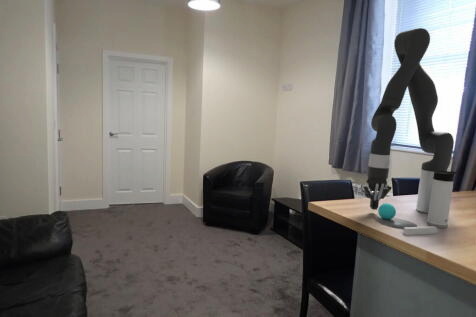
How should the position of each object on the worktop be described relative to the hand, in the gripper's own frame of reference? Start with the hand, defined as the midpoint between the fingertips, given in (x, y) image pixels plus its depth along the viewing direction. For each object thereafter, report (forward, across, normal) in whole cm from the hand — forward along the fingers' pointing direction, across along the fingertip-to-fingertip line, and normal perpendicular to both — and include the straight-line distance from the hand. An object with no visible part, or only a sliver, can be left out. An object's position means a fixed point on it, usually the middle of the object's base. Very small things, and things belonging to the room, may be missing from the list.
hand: (373, 209), depth 134 cm
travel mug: (+2, +14, -17) cm, 22 cm away
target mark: (+2, 0, -13) cm, 13 cm away
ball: (-2, -1, -8) cm, 8 cm away
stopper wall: (+2, 0, -24) cm, 24 cm away
